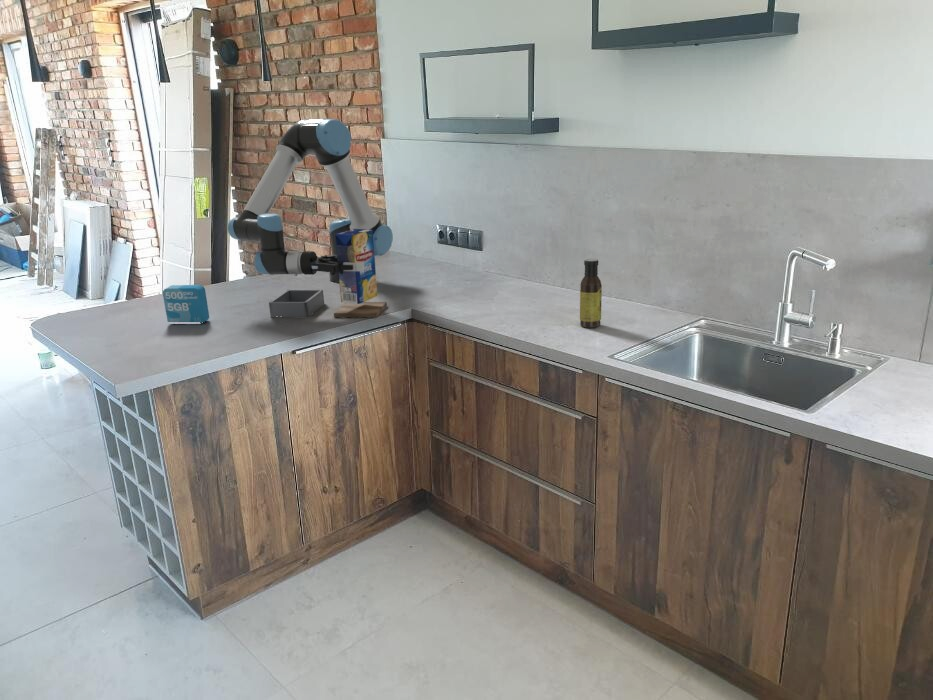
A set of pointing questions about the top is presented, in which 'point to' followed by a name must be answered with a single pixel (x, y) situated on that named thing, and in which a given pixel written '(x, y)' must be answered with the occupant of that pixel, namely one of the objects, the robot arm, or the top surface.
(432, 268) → the top surface
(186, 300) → the data package
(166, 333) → the top surface
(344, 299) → the beverage box
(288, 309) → the charcoal crate
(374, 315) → the brown flat wooden slab
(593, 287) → the sauce bottle
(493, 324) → the top surface
